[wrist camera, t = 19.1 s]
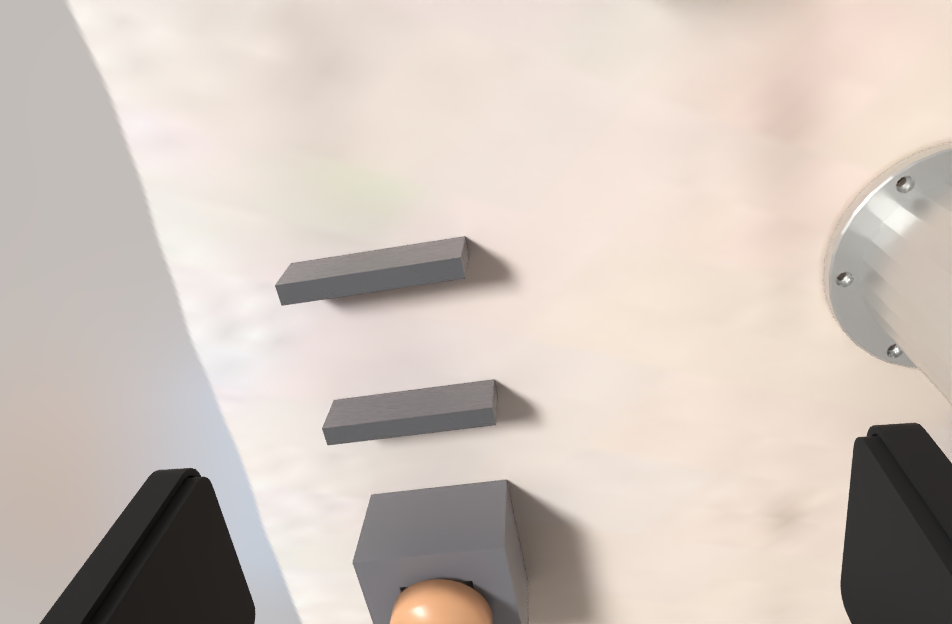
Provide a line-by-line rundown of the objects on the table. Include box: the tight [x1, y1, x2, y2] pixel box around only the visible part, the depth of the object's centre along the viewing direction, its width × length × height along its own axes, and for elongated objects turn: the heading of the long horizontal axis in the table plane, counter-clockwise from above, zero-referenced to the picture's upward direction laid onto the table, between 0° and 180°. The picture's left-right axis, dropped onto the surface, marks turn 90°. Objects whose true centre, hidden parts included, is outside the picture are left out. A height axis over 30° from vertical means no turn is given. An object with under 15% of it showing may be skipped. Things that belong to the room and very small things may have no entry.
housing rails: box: [275, 236, 497, 445], centre depth 43 cm, size 10×10×3 cm
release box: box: [353, 480, 528, 624], centre depth 48 cm, size 9×9×6 cm
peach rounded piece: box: [390, 579, 493, 624], centre depth 46 cm, size 6×6×7 cm
